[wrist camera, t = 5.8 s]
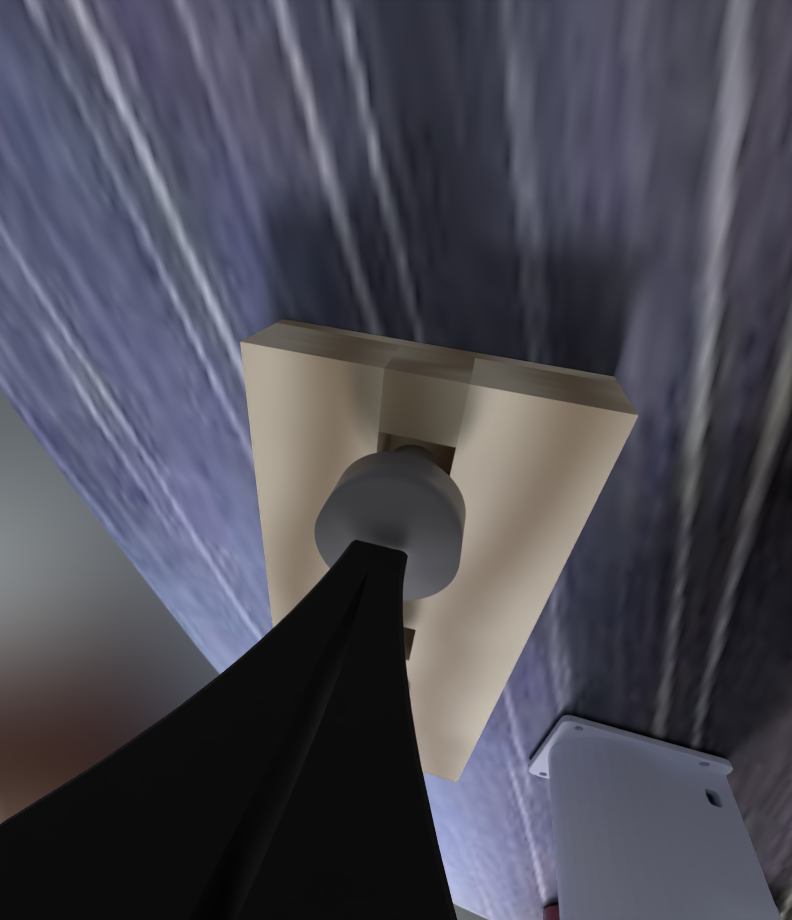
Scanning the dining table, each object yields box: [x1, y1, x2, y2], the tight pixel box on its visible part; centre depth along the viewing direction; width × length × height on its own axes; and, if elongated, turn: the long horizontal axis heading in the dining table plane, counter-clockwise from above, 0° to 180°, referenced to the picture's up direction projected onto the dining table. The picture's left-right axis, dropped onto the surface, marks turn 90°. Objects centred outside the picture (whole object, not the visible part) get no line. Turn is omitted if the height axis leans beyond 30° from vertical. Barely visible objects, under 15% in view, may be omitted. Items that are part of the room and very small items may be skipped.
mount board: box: [240, 319, 639, 783], centre depth 21 cm, size 12×27×3 cm, turn 174°
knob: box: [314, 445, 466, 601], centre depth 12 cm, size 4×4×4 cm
